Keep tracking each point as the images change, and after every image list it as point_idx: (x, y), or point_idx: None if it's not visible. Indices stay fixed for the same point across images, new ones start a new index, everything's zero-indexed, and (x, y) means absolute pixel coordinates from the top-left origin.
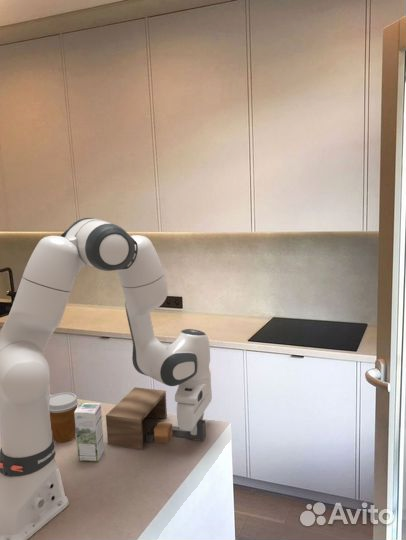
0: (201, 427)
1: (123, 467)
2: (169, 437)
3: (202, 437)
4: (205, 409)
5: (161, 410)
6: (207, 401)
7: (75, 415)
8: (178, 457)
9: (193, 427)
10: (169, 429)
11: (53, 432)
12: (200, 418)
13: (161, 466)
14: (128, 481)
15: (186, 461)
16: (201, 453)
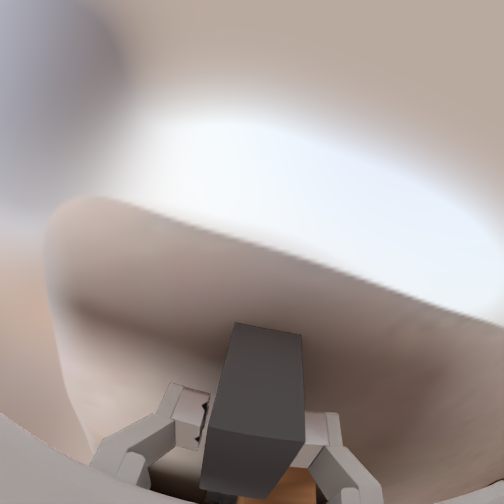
0: (300, 423)
1: (428, 486)
2: (290, 467)
3: (300, 354)
4: (107, 479)
5: None
6: (18, 489)
7: None
8: (441, 407)
9: (487, 493)
10: (284, 500)
11: None
12: (164, 437)
13: (469, 430)
14: (488, 456)
15: (480, 372)
16: (445, 324)
